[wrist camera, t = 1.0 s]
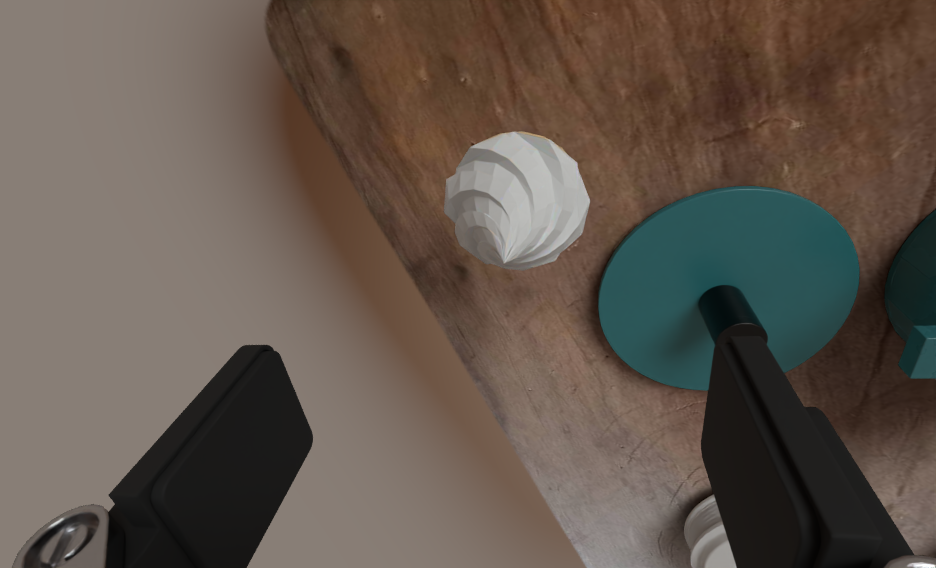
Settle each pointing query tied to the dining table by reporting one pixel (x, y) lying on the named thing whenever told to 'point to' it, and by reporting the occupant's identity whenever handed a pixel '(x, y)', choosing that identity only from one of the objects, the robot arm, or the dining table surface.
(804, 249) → the pot lid
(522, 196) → the ice cream cone
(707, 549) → the lid
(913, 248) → the pot
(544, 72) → the dining table surface
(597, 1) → the dining table surface
